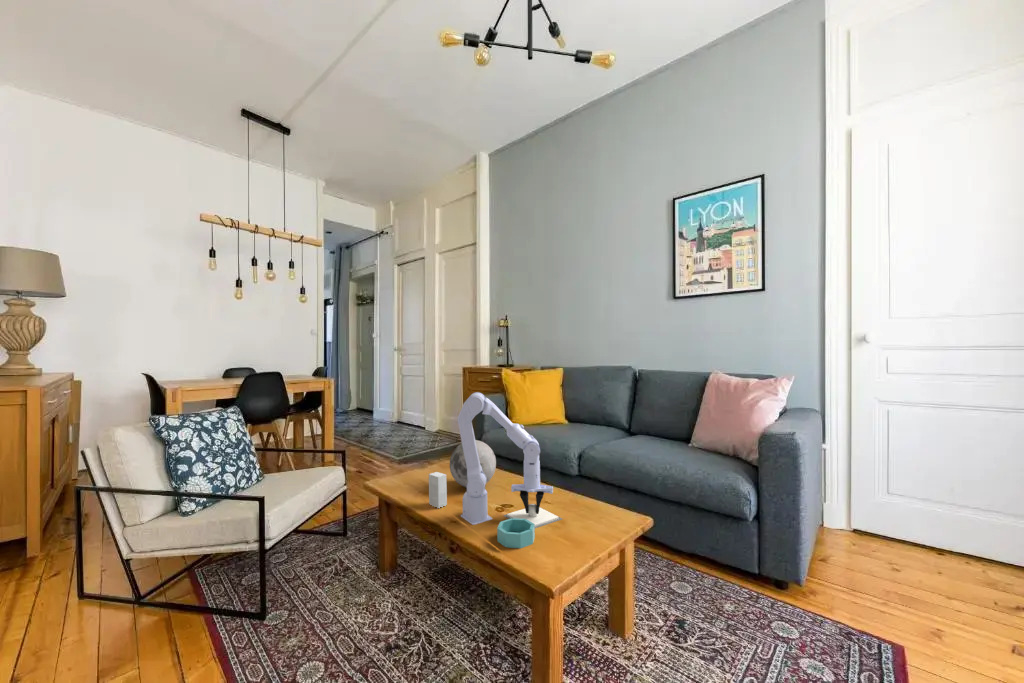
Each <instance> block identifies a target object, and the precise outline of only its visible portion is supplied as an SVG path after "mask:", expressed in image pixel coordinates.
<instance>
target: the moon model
mask: <svg viewBox="0 0 1024 683" xmlns="http://www.w3.org/2000/svg"><path fill="white" fill-rule="evenodd" d="M475 441H476V446H477V451H478V456H479V461H480V465H481V467H482V471H483V473H484V474H485V475H486V478H487V481H486V484H488V482H489V481H491V479H492V477H493V476H494V474H495V471H496V467H497V459H496V455H495V453H494V450H493V449H492V448H491V447H490V446H489V445H488V444H487V443H485V442H484V441H481V440H477V439H475ZM449 472H450V474H451V476H452V478H453V479H454V481H455V482H456V483H457V484H459V485H460V486H462V487H464V488H467V484H468V479H467V466H466V461H465V456H464V451H463V446H462V442H461V443H460V444H458V445H457V446H456V447H455V448H454V449H453V451H452V453H451V455H450V458H449Z"/></svg>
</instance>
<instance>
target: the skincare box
mask: <svg viewBox="0 0 1024 683" xmlns="http://www.w3.org/2000/svg"><path fill="white" fill-rule="evenodd" d="M447 493H448V489H447V474H445V473H442V472H438V471H435V472H431V473H429V474H428V505H429V504H430V505H432V506H431V507H433V506H434V507H433V508H435V507H437V508H436V509H438V508H439V509H441V508H440V507H442V508H444V507H443V506H445V507H447V506H448V500H447V499H448V497H447V496H448V494H447ZM430 505H429V506H430ZM446 505H447V506H446Z"/></svg>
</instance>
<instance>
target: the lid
mask: <svg viewBox="0 0 1024 683" xmlns="http://www.w3.org/2000/svg"><path fill="white" fill-rule="evenodd" d="M528 504H529V503H528ZM506 514H507V516H508V517H510V518H518V519H527V520H529V521H530V522H532V523H534V524H535V526H538V525H541V524H544V523H547V522H550V521H553V520H557V519H559V517H560V516H558V515H556V514H554V513H552V512H550V511H549V510H546V509H544V508H542V507H539V513H538V514H536V503H530V504H529V505H528V513H526V510H525V508H523V509H519V510H515V511H512V512H510V513H506Z"/></svg>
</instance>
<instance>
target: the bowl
mask: <svg viewBox="0 0 1024 683" xmlns="http://www.w3.org/2000/svg"><path fill="white" fill-rule="evenodd" d="M535 529H536V528H535V524H534V523H532V522H530V521H529V520H527V519H518V518H511V519H508V518H507V519H505V520H502V521H500V522H499V524H498V526H497V529H496V531H497V533H496V534H497V538H496V539H497V542H498V543H499V544H501V545H502V546H503V547H505V548H510V549H523V548H526V547H528V546H531V545H533V544H534V541H535V538H536V534H535Z"/></svg>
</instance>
